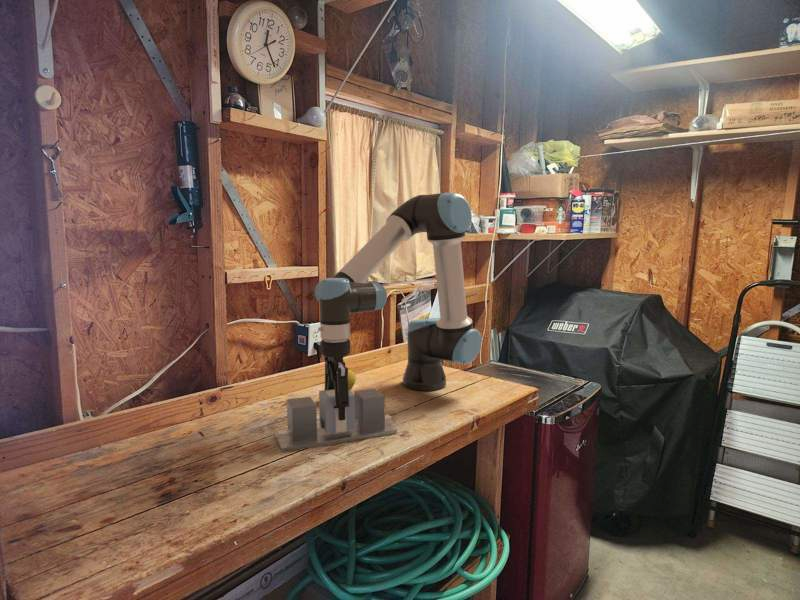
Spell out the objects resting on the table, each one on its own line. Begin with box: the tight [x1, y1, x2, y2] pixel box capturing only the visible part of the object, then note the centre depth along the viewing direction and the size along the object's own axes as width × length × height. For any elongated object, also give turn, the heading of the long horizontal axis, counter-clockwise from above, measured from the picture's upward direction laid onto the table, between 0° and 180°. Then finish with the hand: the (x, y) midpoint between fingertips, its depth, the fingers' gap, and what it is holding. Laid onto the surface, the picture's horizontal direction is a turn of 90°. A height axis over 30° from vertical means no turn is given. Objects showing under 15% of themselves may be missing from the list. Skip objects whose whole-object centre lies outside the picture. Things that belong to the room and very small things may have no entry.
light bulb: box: [348, 368, 357, 391], centre depth 156 cm, size 7×7×10 cm
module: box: [318, 389, 355, 434], centre depth 128 cm, size 8×7×9 cm
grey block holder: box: [274, 388, 398, 453], centre depth 129 cm, size 30×10×10 cm, turn 113°
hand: (336, 425), depth 129 cm, fingers closed on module, 7 cm apart
